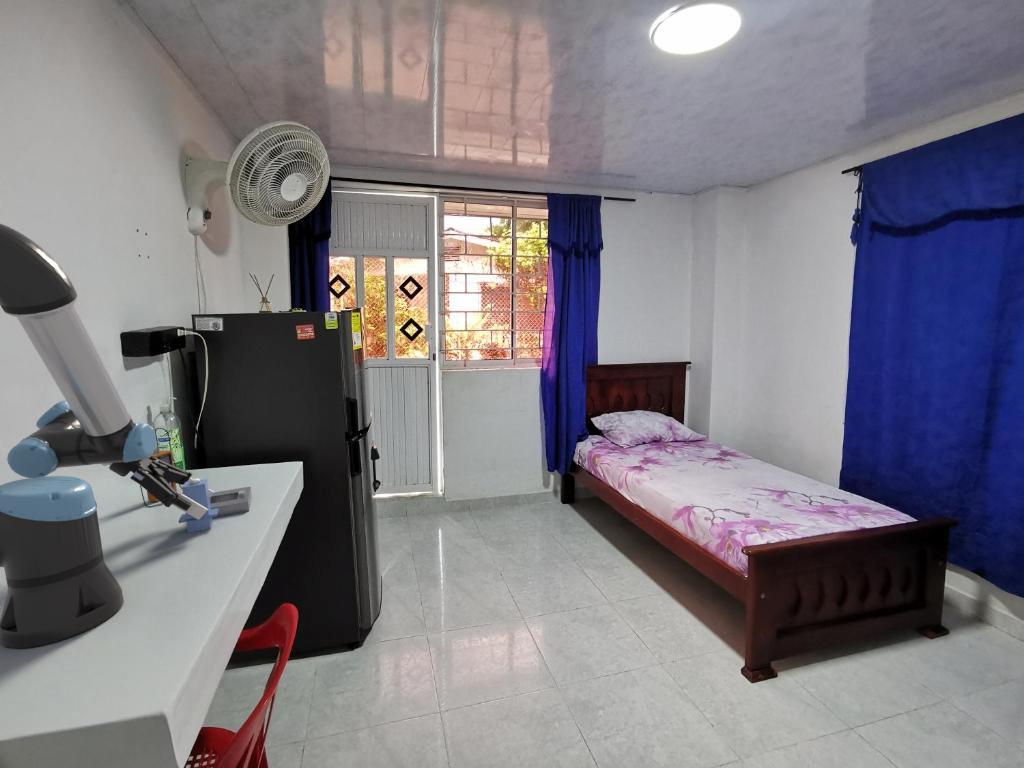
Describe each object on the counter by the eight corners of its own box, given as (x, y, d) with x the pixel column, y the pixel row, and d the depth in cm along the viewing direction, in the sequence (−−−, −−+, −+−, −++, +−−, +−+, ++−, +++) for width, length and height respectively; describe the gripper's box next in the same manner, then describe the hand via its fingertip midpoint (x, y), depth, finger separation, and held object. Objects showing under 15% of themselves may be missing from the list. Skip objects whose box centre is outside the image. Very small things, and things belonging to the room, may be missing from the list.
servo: (218, 527, 118) (212, 479, 117) (180, 534, 115) (173, 485, 114) (220, 520, 122) (214, 474, 121) (183, 527, 119) (177, 479, 118)
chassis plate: (249, 510, 128) (247, 498, 128) (194, 520, 123) (193, 507, 123) (251, 495, 141) (250, 483, 140) (202, 503, 136) (200, 491, 135)
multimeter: (168, 507, 133) (158, 435, 131) (136, 507, 135) (125, 435, 133) (209, 489, 148) (201, 423, 145) (179, 489, 149) (171, 424, 147)
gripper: (122, 454, 121) (202, 501, 129) (88, 482, 99) (187, 537, 107) (146, 430, 123) (223, 478, 131) (118, 452, 100) (212, 508, 109)
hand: (207, 505), depth 119 cm, fingers open, 13 cm apart
